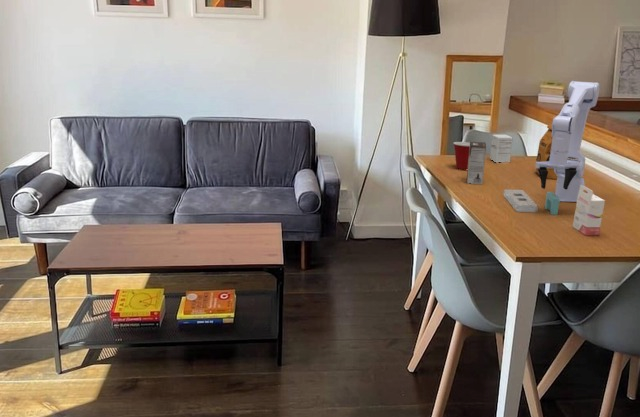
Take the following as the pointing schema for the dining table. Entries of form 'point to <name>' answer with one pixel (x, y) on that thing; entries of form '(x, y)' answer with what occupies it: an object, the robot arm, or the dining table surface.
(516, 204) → the white slotted slab
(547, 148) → the coffee package
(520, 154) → the dining table surface
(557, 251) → the dining table surface
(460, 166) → the plastic cup
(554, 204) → the teal rectangular plank
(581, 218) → the ink cartridge box
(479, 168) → the coffee box
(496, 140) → the supplement box
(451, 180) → the dining table surface
